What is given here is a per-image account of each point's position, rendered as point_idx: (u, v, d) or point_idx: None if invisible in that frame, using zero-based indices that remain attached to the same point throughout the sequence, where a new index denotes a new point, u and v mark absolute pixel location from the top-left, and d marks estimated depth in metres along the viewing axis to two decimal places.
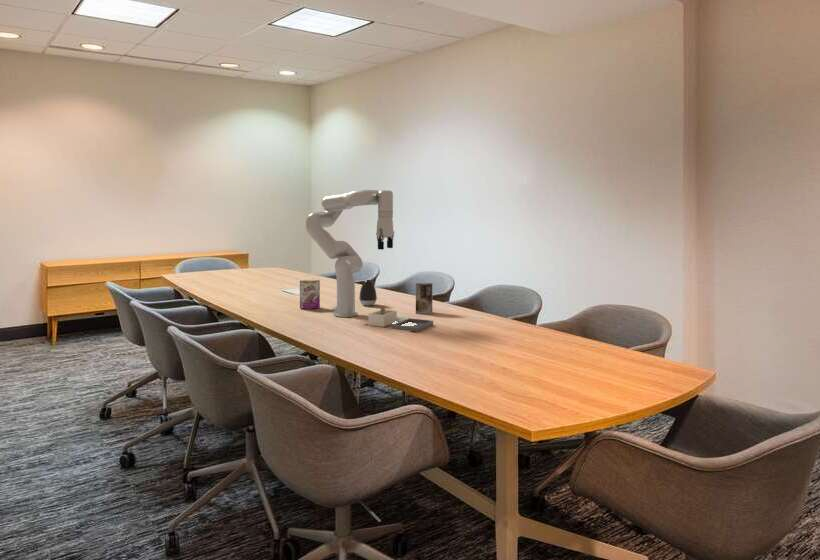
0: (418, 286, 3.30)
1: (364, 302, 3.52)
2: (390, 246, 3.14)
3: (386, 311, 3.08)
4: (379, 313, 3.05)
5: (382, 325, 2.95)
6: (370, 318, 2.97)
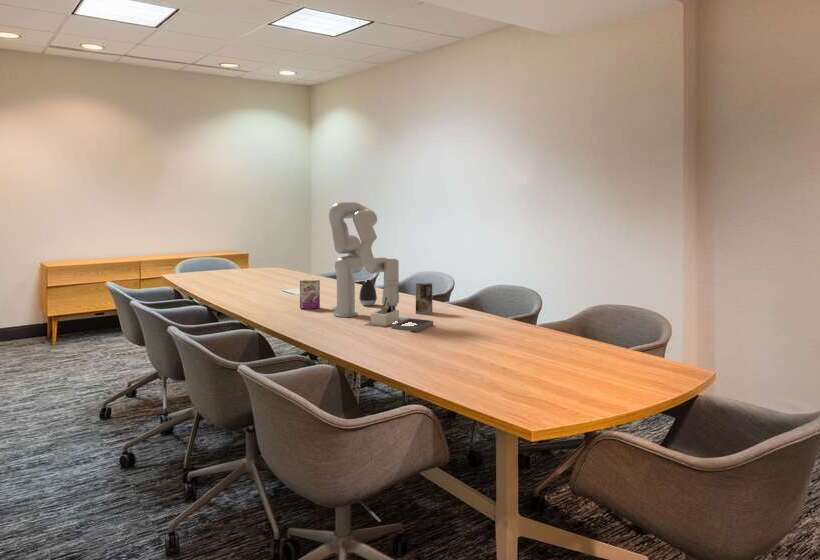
0: (418, 286, 3.30)
1: (364, 302, 3.52)
2: None
3: None
4: None
5: (384, 324, 2.97)
6: (372, 317, 3.00)
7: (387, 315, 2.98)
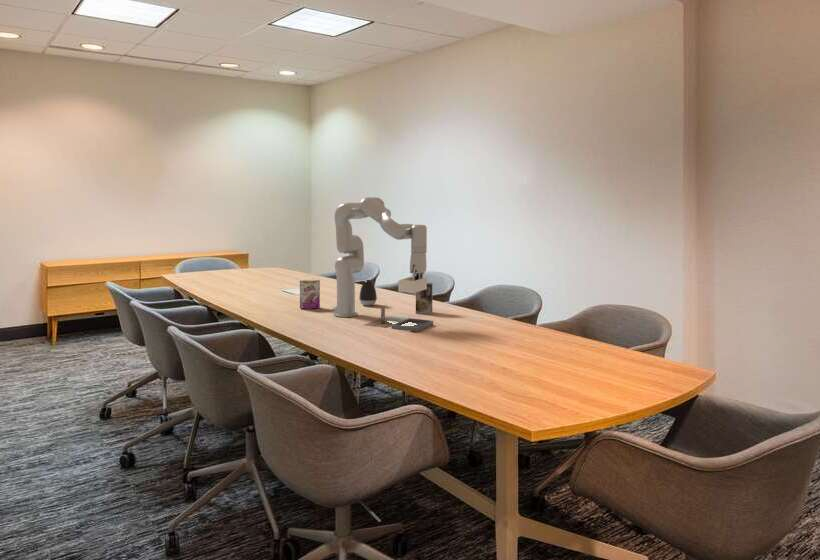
0: None
1: (364, 302, 3.52)
2: None
3: None
4: (409, 280, 2.97)
5: (413, 291, 2.87)
6: (400, 284, 2.89)
7: (416, 282, 2.87)
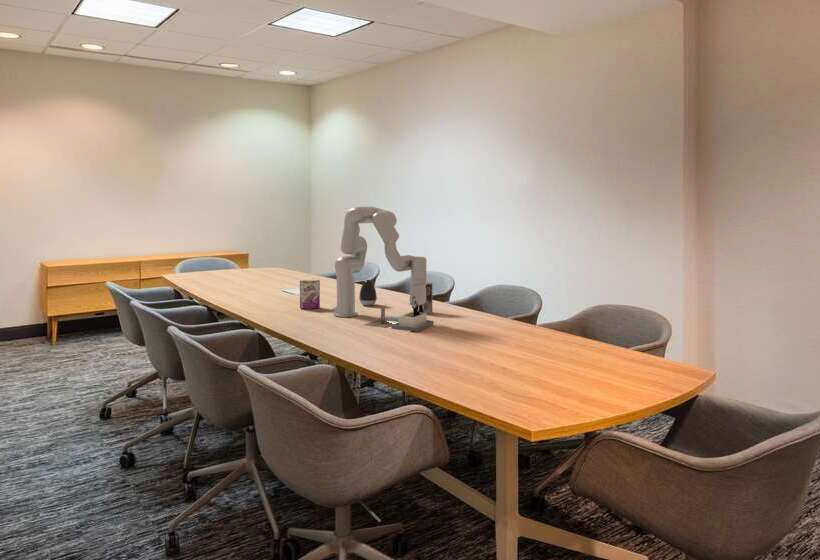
0: None
1: (364, 302, 3.52)
2: None
3: None
4: (409, 315, 3.00)
5: None
6: (400, 320, 2.92)
7: (416, 318, 2.90)
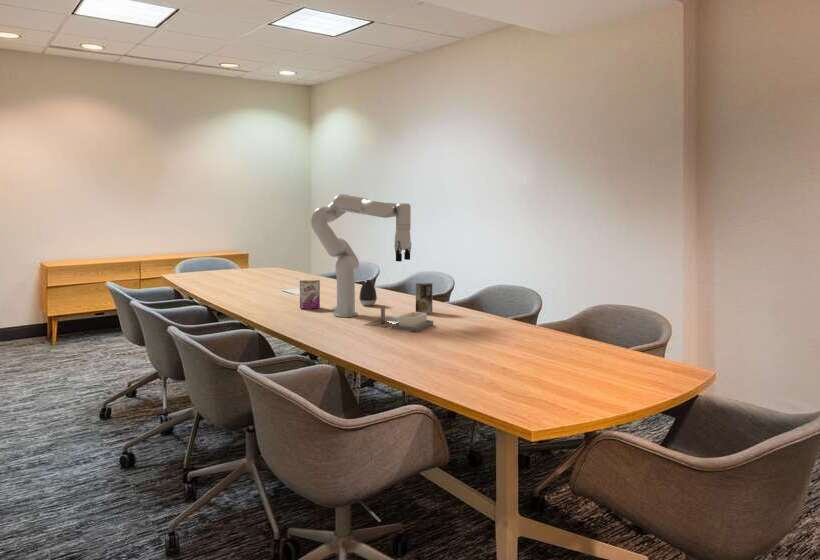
0: (418, 286, 3.30)
1: (364, 302, 3.52)
2: (407, 258, 3.20)
3: (416, 313, 3.02)
4: (409, 315, 3.00)
5: None
6: (400, 320, 2.92)
7: (416, 318, 2.90)
